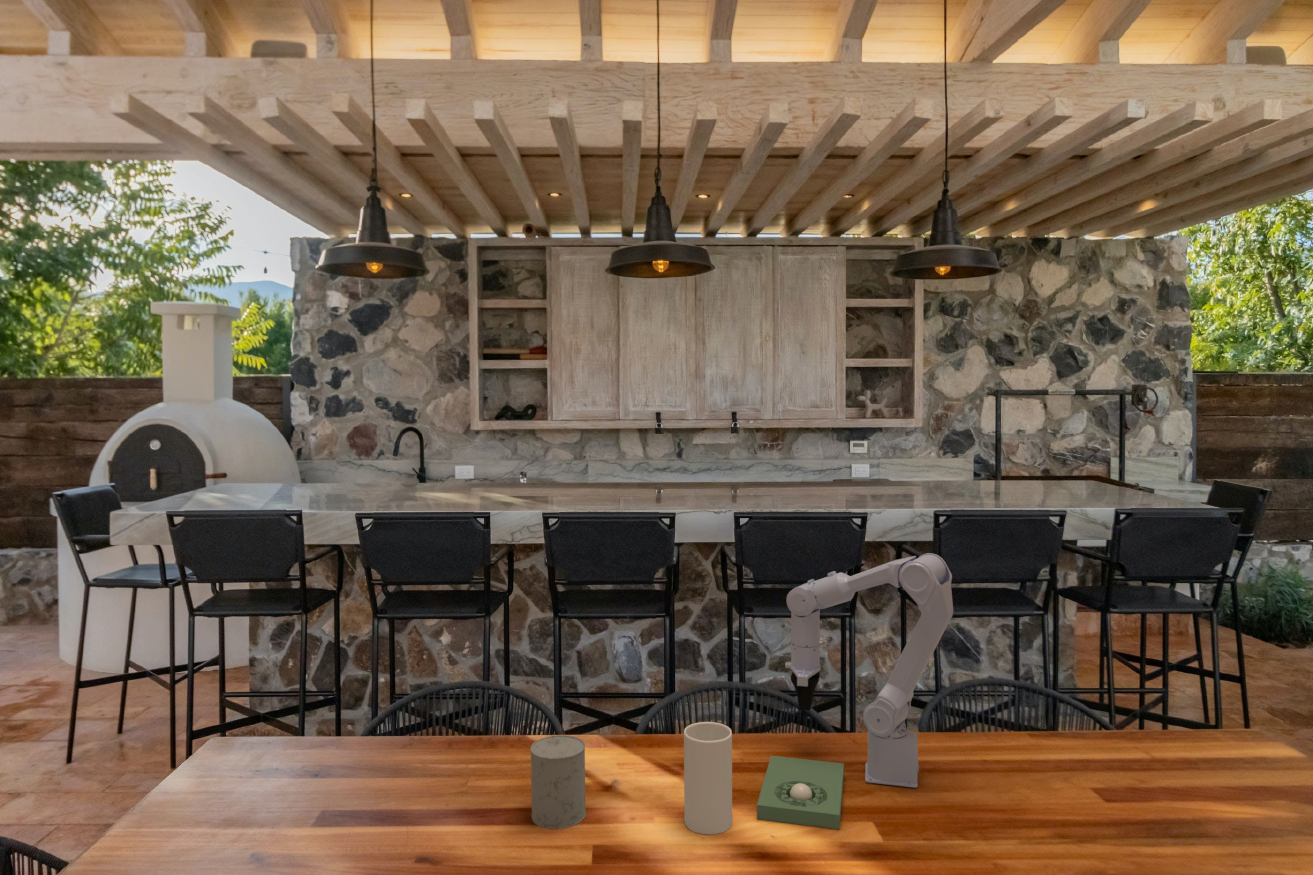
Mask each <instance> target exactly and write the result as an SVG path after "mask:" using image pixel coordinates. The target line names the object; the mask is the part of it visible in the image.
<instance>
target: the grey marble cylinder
mask: <svg viewBox="0 0 1313 875" xmlns="http://www.w3.org/2000/svg"><path fill="white" fill-rule="evenodd" d="M585 743H586V742H584V740H582V739H580V737H579V738H578V737H576V736H572V735H566V734H565V735H564V734H561V735H559V734H557V735H550V736H545V737H541V738H539V739H537V740H535V741H534V742H532V744H531V746H530V772H531V774H530V781H531V782H530V783H531V784H530V785H531V815H530V817H531V821H532V822H533V824H535V825H536V826H539V827H540V828H542V829H543V828H544V829H550V830H560V829H567V828H571V827H573V826H576V825H578V824H580V823H581V822H582V821H584V819H585V818H586V814H587V810H586V755H585V754H586V752H585V751H586V749H585V748H586V744H585Z"/></svg>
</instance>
